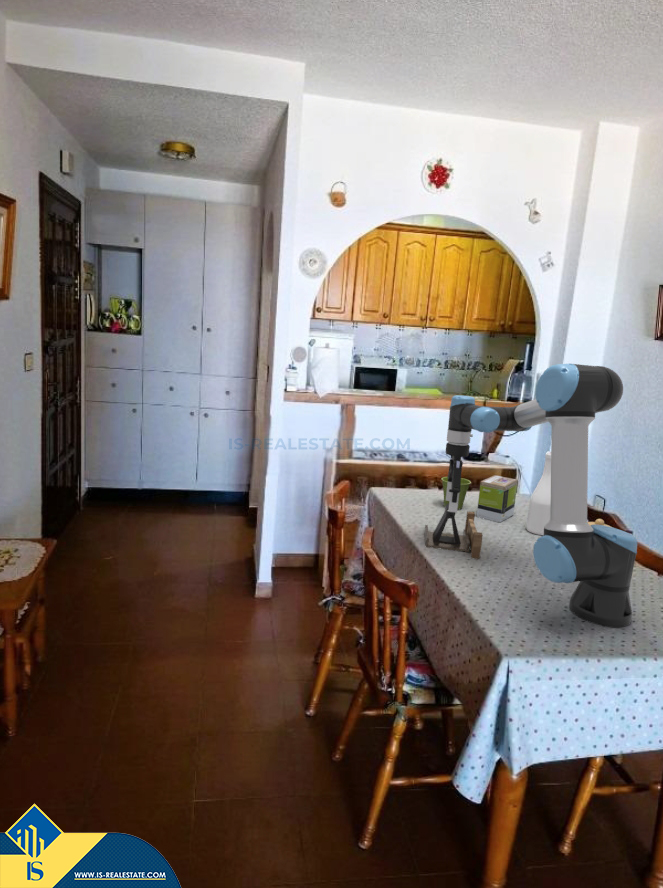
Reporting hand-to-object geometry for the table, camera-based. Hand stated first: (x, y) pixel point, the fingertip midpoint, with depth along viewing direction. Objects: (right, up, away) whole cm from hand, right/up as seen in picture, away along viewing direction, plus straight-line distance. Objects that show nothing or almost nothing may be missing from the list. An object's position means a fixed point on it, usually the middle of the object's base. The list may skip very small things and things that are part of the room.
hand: (451, 506), depth 204 cm
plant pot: (+9, -5, +45) cm, 47 cm away
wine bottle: (+37, -12, +23) cm, 45 cm away
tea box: (+25, -8, +38) cm, 46 cm away
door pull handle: (+7, -13, +2) cm, 15 cm away
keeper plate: (-1, -12, +3) cm, 13 cm away
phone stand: (-1, -12, +3) cm, 12 cm away
